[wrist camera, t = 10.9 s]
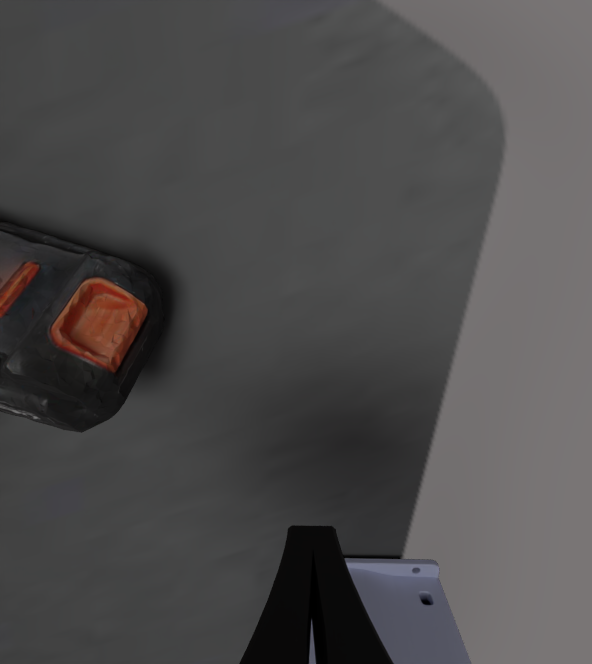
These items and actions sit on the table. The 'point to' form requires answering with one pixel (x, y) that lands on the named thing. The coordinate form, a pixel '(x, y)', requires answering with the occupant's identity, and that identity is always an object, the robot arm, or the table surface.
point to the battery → (71, 329)
